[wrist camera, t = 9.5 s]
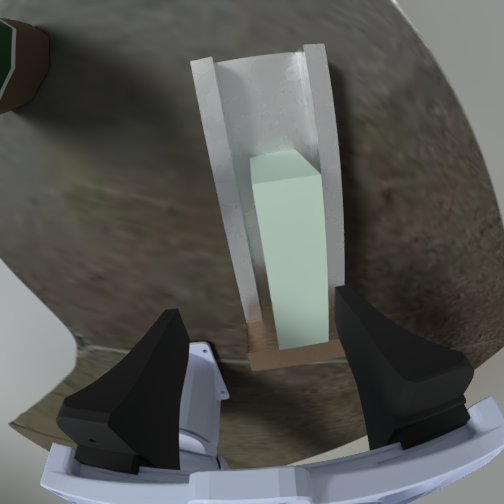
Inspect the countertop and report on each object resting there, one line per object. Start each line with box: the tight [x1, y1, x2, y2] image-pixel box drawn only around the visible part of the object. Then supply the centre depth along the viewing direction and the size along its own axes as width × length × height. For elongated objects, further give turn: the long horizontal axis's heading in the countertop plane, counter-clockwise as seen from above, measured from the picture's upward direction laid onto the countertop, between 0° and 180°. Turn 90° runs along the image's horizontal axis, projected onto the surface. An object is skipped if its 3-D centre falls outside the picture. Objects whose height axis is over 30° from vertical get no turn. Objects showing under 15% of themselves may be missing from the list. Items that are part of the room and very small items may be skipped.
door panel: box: [250, 150, 329, 350], centre depth 18 cm, size 10×3×7 cm, turn 9°
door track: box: [191, 44, 346, 371], centre depth 18 cm, size 20×7×6 cm, turn 9°
